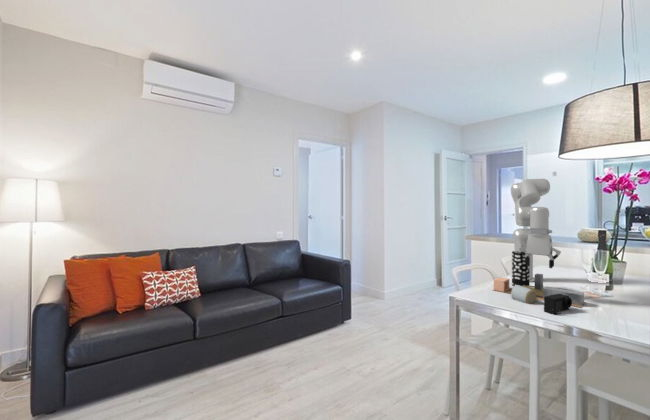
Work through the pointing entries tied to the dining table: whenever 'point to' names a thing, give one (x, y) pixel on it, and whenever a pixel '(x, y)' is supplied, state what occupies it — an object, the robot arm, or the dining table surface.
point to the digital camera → (556, 303)
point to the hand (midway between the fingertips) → (539, 266)
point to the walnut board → (537, 297)
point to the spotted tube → (519, 269)
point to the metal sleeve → (575, 296)
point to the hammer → (537, 285)
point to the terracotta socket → (501, 284)
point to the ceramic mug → (523, 294)
